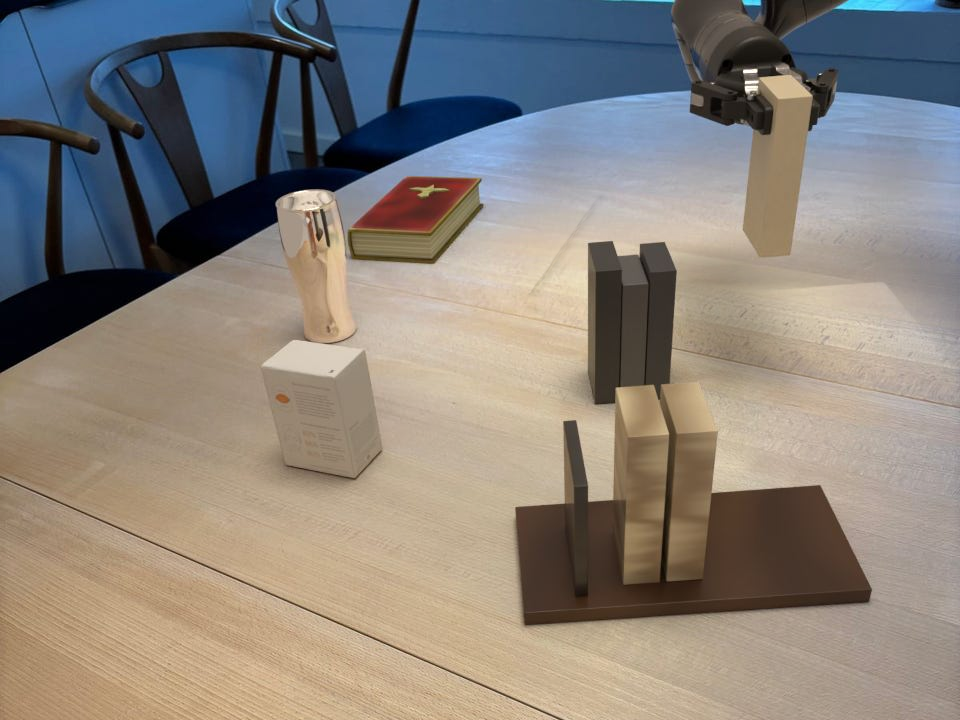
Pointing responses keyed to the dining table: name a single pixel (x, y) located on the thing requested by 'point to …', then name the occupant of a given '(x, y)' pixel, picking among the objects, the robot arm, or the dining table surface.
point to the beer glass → (317, 262)
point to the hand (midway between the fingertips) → (789, 120)
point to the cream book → (777, 167)
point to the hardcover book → (416, 219)
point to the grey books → (629, 318)
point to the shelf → (733, 568)
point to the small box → (323, 407)
